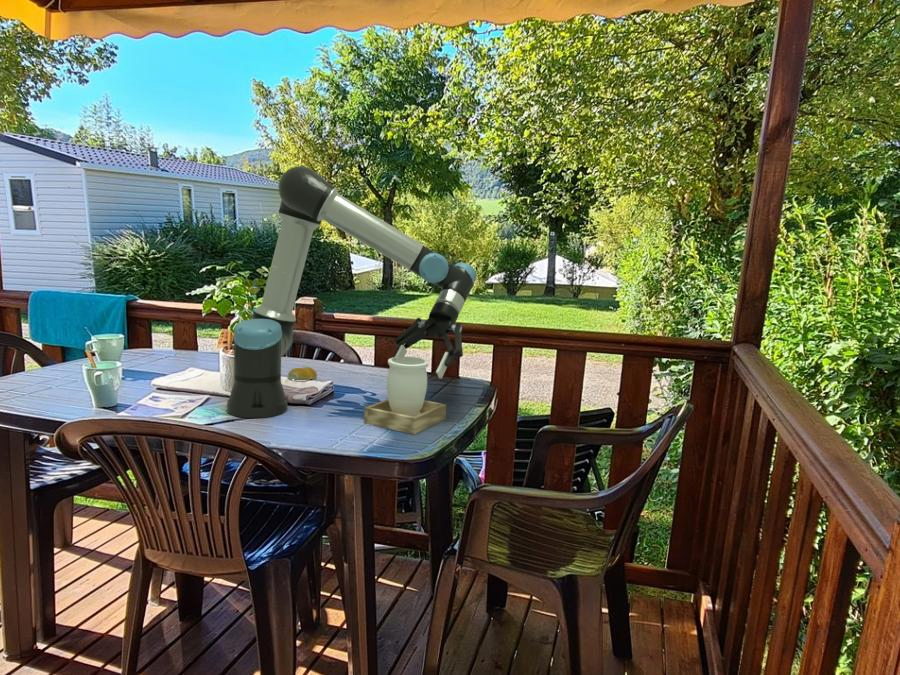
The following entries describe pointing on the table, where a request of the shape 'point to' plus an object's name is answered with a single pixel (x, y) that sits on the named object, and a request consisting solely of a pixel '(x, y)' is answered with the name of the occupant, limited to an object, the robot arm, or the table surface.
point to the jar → (407, 385)
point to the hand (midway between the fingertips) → (415, 371)
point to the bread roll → (302, 374)
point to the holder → (405, 417)
